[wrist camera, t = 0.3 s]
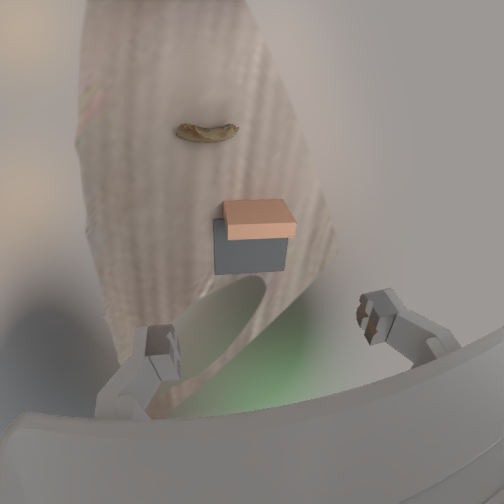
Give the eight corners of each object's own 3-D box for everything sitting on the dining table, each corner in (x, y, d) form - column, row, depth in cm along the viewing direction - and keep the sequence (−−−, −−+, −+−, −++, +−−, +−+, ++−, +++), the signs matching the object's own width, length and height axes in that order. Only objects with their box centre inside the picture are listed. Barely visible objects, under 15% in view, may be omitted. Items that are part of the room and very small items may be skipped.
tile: (223, 200, 58) (227, 225, 50) (282, 199, 60) (296, 222, 52) (223, 215, 60) (227, 240, 52) (281, 213, 62) (294, 237, 54)
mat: (213, 219, 60) (213, 220, 60) (290, 216, 62) (290, 217, 62) (215, 274, 68) (215, 275, 68) (283, 270, 70) (283, 270, 70)
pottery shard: (238, 119, 50) (246, 127, 41) (235, 142, 52) (243, 155, 44) (178, 116, 47) (173, 123, 39) (176, 139, 50) (171, 152, 41)
